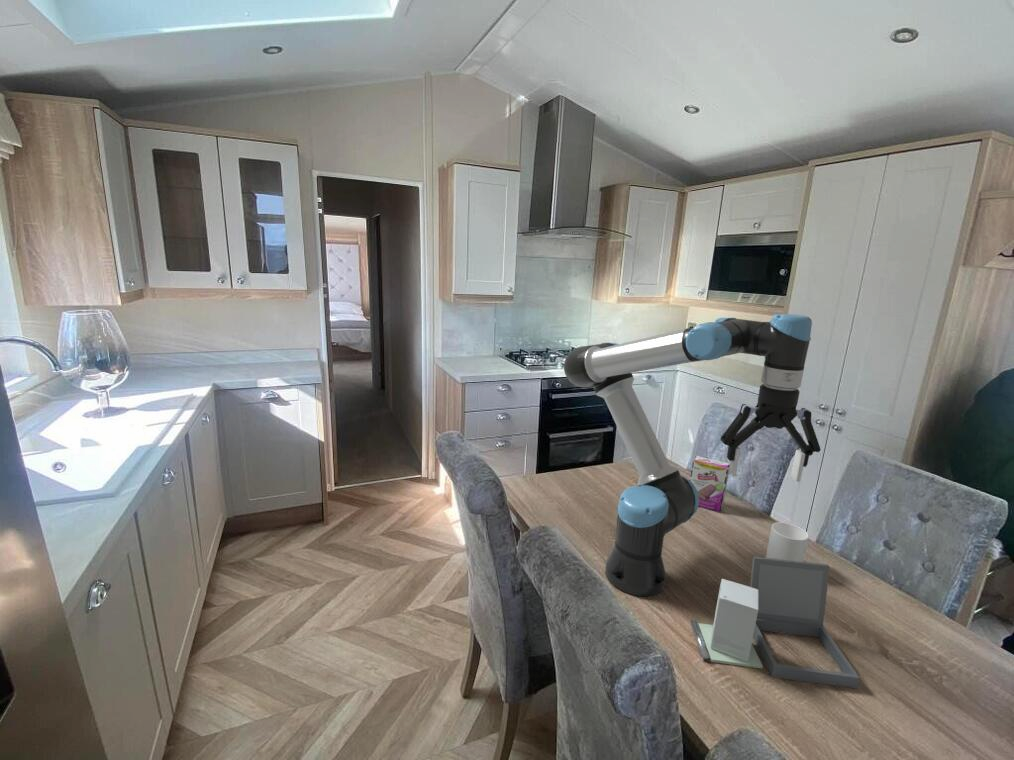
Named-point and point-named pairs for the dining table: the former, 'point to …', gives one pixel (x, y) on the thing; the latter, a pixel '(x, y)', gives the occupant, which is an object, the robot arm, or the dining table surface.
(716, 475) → the candy bar box
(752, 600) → the supplement box
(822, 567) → the lid
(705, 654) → the rod
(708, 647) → the mat
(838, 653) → the grey square frame
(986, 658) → the dining table surface
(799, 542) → the mug
